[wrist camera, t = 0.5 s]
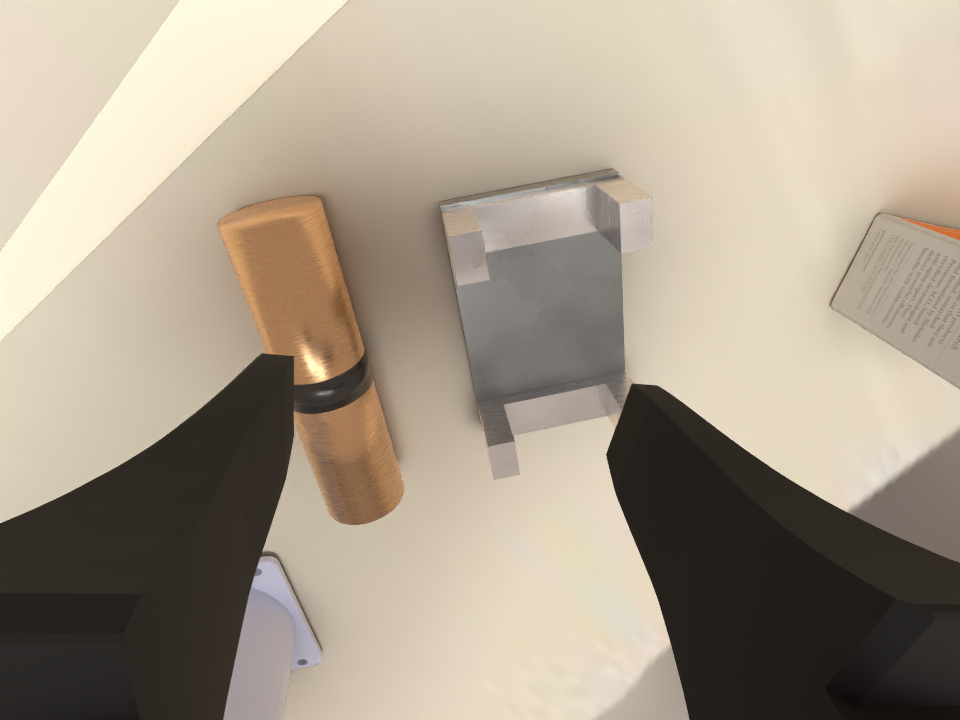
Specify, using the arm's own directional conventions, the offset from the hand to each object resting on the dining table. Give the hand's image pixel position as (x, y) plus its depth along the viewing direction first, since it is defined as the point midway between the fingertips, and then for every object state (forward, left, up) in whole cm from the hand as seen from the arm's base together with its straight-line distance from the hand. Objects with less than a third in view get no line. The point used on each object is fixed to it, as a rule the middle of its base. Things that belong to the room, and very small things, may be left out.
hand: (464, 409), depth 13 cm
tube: (-5, -3, -10) cm, 12 cm away
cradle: (+4, -3, -10) cm, 11 cm away
